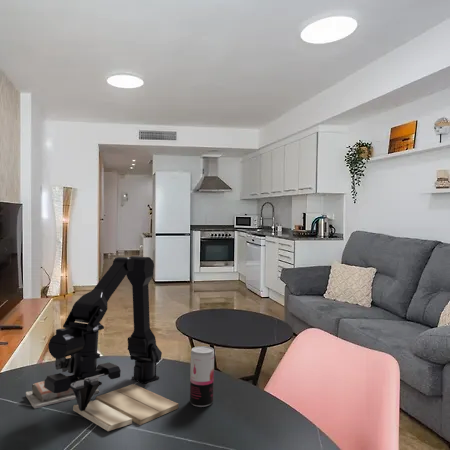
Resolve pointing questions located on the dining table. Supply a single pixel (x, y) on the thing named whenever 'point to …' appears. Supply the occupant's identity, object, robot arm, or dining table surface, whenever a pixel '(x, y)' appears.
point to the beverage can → (202, 376)
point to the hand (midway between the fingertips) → (82, 410)
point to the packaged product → (48, 395)
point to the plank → (103, 415)
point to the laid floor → (138, 403)
